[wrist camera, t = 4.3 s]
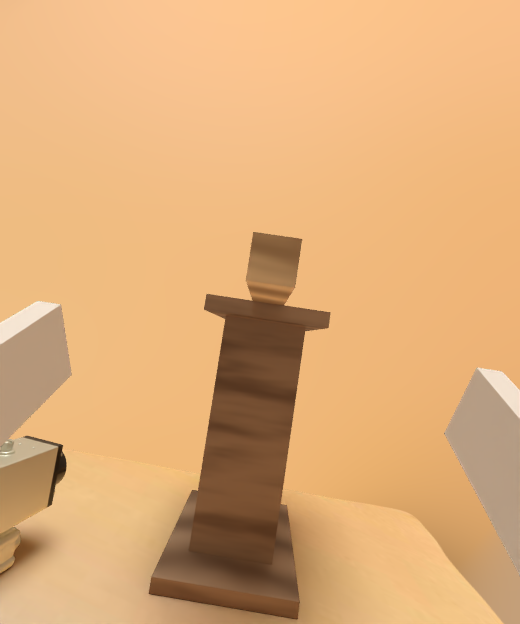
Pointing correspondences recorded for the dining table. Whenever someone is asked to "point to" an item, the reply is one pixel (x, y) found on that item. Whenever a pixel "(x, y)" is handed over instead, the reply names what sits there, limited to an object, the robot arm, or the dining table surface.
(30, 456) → the pneumatic valve
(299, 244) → the brown streaked block
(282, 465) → the shelf stand
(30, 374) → the robot arm
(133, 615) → the dining table surface
